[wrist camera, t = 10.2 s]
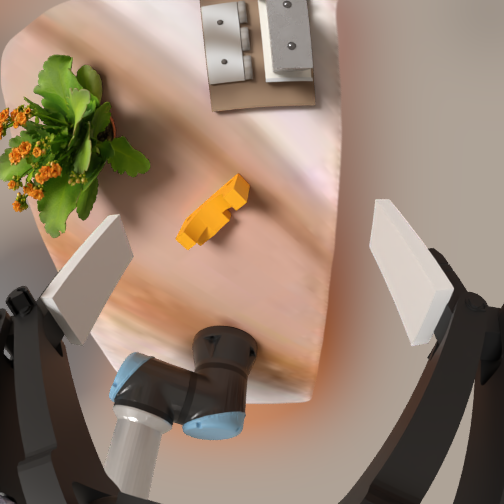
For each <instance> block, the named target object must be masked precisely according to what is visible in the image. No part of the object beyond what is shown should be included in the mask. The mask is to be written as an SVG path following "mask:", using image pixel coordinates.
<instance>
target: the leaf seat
mask: <svg viewBox="0 0 504 504" xmlns="http://www.w3.org/2000/svg"><path fill="white" fill-rule="evenodd" d="M258 6H259V16H260V25H261V34H262V44H263V55H264V65H265V76H266V82H282V81H313V77H311V69H308V70H304V71H277V72H273V71H272V60H271V50H270V39H269V29H268V20H267V11H266V0H258Z"/></svg>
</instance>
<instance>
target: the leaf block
mask: <svg viewBox="0 0 504 504" xmlns="http://www.w3.org/2000/svg"><path fill="white" fill-rule="evenodd" d="M266 11H267V20H268V29H269V39H270V50H271V60H272V71H273V72H277V71H304V70H308V69H311V68H313V60H312V48H311V37H310V26H309V17H308V8H307V0H266Z"/></svg>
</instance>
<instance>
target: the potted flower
mask: <svg viewBox="0 0 504 504" xmlns="http://www.w3.org/2000/svg"><path fill="white" fill-rule="evenodd" d="M72 61H73V57H72V58H71V57H70V56H66V55H52V56H50V57H49V58H48V61H45V62H44V65H43V68H44V70H41V71H40V72H39V75H38V77H39V80H38V84H39V85H40V86H39V85H37V86H36V87H35V88H34V93H35V94H39V95H41V96H43V97H44V99H42V105H43V106H44V109H43V108H42V107H40V106H39V105H38V104H35V103H33V102H31V101H30V100H29V99H27V98H26V97H24V100H25V101H27V102H28V103H30V105H28V106H27V108H26V107H25V108H24V105H21V106H18V109H15V110H14V109H13V110H14V111H13V112H11V113H10V114H11V117H10V116H9V108H6V109H5V110H3V111H2V112H1V113H0V140H1V139H2V135H3V137H4V136H5V135H6V129H7V128H9V127H12V126H14V128H18V126H22V127H24V128H25V129H26V131H21V132H20V136H21V137H20V136H16V137H15V138H11V139H10V140H9V146H10V147H12V148H8V149H5V153H4V154H2V155H1V156H0V179H1V180H3V181H4V182H6V181H10V182H9V183H8V186H9V189H13V191H14V190H16V189H18V188H19V186H21V187H23V185H22V182H20V180H21V178H22V177H24V176H25V175H26V174H27V175H28V177H27V178H26V184H27V185H26V184H25V186H24V187H23V189H24V190H23V191H24V194H23V195H21V193H20V192H19V193H17V198H16V201H15V203H13V204H12V205H14V207H13V208H14V210H15V211H16V212H17V211H19V212H22V210H24V209H25V210H26V209H27V208H28V205H27V203H26V197H27V196H31V197H33V198H34V199H38V201H37V204H38V211H39V212H40V211H42V212H41V213H40V214H39V217H40V220H41V222H42V223H46V224H45V229H46V232H47V233H49V234H50V235H51V237H52V238H57V237H58V236H60V232H59V231H61V232H62V233H65V230H66V220H67V218H68V216H69V214H70V213H71V212H72V211H73V210H74V209H75V208H76V207H77V213H78V217H79V218H81V219H82V220H86V218H87V217H88V216H89V214H90V211H91V210H92V208H93V203H95V201H96V195H97V193H98V186H99V184H98V179H97V176H98V174H99V172H100V171H101V170H102V168H103V167H104V165H105V163H106V160H107V161H108V164H109V163H111V166H112V167H111V168H113V171H114V172H116V171H117V170H118V173H120V175H122V174H123V173H124V172H125V171H126V173H127V175H129V176H131V177H136V176H137V174H138V173H141V174H145V172H147V171H149V169H150V162H149V160H148V159H147V158H145V155H144V154H142V153H141V152H140V151H138V150H135V149H133V147H132V146H131V145H130V143H129V142H128V141H127V139H126V137H124V136H123V135H122V137H121V138H120V137H118V138H116V128H115V125H114V120H113V119H112V117H111V113H110V112H109V111H110V108H111V105H110V102H105V103H103V104H102V105H100V102H101V98H102V92H103V89H102V81H101V79H100V76H99V74H97V72H96V71H95V70H93V69H92V67H90V66H89V65H84V66H82V67H81V68H80V69H79V70H78V72H77V76H75V75H74V74H73V73H72V72H71V68H72ZM31 109H33V110H31ZM20 110H21V111H20ZM33 116H36V118H35V122H33V121H29V120H28V119H30V118H32V117H33ZM7 118H9V119H7ZM39 118H40V119H41V121H44V122H43V123H44V124H45V125H42V124H38V123H39ZM6 119H7V120H6ZM9 121H10V122H11V123H10V122H9ZM8 123H10V124H8ZM7 124H8V125H7ZM32 177H34V178H35V179H33V181H34V183H33V182H32V181H31V179H32ZM27 182H29V183H27ZM26 193H27V195H26V196H25V194H26ZM23 201H24V202H23Z"/></svg>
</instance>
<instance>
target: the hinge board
mask: <svg viewBox="0 0 504 504" xmlns="http://www.w3.org/2000/svg"><path fill="white" fill-rule="evenodd" d="M200 9H201V19H202V28H203V38H204V47H205V56H206V65H207V74H208V82H209V91H210V99H211V107H212V112H215V111H223V110H233V109H243V108H256V107H272V106H303V105H315V89H314V73H313V68H311V77H313V81H282V82H266V76H265V65H264V55H263V44H262V34H261V25H260V16H259V6H258V0H200ZM308 17H309V16H308ZM310 37H311V36H310ZM311 48H312V47H311ZM312 60H313V59H312Z"/></svg>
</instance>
